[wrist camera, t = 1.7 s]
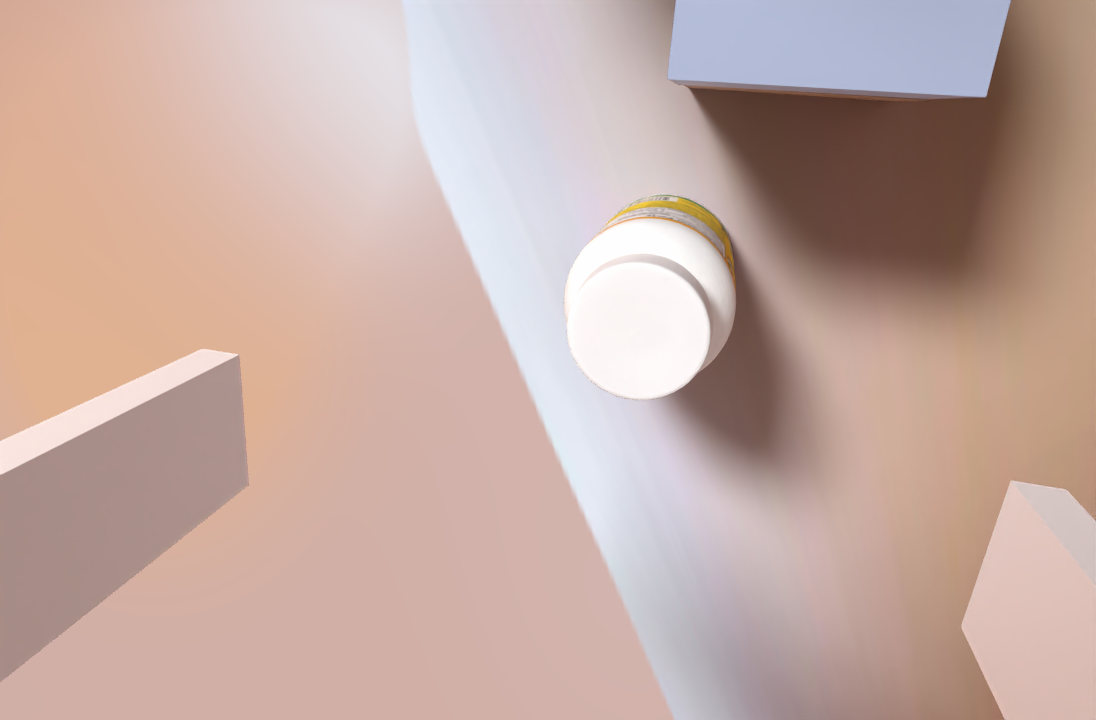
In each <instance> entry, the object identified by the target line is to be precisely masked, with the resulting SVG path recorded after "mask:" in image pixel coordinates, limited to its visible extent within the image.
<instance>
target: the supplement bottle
mask: <svg viewBox="0 0 1096 720" xmlns="http://www.w3.org/2000/svg"><path fill="white" fill-rule="evenodd" d="M735 310H736V285H735V274H734V260H733V253H732V247H731V243H730V239H729V236H728V234H727V231H726V229H725V227H724V226H723V224H722V223H721V221H720V220H719V219H718V217H717V216H716V215H715V214H714V213H713V212H712V211H710V210H709V209H708V208H707V207H705V206H704V205H702V204H701V203H699V202H697V201H695V200H692V199H690V198H687V197H684V196H680V195H674V194H657V195H651V196H647V197H644V198H641V199H638V200H636V201H634V202H632V203H630V204H628V205H627V206H625V207H624V208H623V209H621V210H620V211H619V212H618V213H616V214H615V215H614V216H613V217H612V218H611V219H610V220H609V221H608V223H607V224H606V225H605V226H604V227H603V228H602V229H601V231H600V232H599V233H598V234H597V235H596V236H595V237H594V238H593V239H592V240H591V241H590V242H589V243H588V244H587V245H586V246H585V248H584V249H583V250H582V251H581V253H580V254H579V255H578V257H577V259H576V260H575V262H574V264H573V266H572V268H571V270H570V273H569V275H568V279H567V282H566V287H565V293H564V311H565V318H566V323H567V338H568V343H569V348H570V350H571V353H572V356H573V358H574V360H575V362H576V364H577V365H578V367H579V368H580V370H581V371H582V372H583V374H584V375H585V376H586V377H587V378H588V379H589V380H590V381H591V382H593V383H594V384H595V385H596V386H598V387H599V388H601V389H603V390H604V391H606V392H608V393H610V394H613V395H615V396H618V397H622V398H626V399H632V400H651V399H657V398H661V397H664V396H667V395H670V394H672V393H674V392H676V391H677V390H679V389H681V388H682V387H684V386H685V385H686V384H688V383H689V382H690V381H691V380H692V379H693V378H694V377H695V375H696V374H697V373H698V372H700V371H701V370H703V369H704V368H705V367H706V366H708V365H709V364H710V363H711V362H712V361H713V360H714V359H715V358H716V357H717V355H718V354H719V352H720V351H721V350H722V348H723V347H724V345H725V343H726V342H727V340H728V337H729V335H730V333H731V330H732V327H733V322H734V318H735Z"/></svg>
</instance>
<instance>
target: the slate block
mask: <svg viewBox="0 0 1096 720" xmlns="http://www.w3.org/2000/svg"><path fill="white" fill-rule="evenodd" d="M1010 1H1011V0H676V3H675V13H674V22H673V31H672V40H671V49H670V59H669V68H668V77H667V79H668V80H670V81H672V82H674V83H676V84H678V85H693V86H711V87H728V88H745V89H762V90H780V91H797V92H814V93H831V94H849V95H866V96H883V97H900V98H918V99H944V98H978V97H986V95H987V92H988V88H989V84H990V80H991V76H992V72H993V68H994V64H995V60H996V56H997V52H998V48H999V45H1000V41H1001V37H1002V33H1003V29H1004V25H1005V21H1006V17H1007V13H1008V9H1009V5H1010Z"/></svg>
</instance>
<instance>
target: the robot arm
mask: <svg viewBox="0 0 1096 720" xmlns="http://www.w3.org/2000/svg"><path fill="white" fill-rule="evenodd" d="M248 485H249V481H248V467H247V454H246V439H245V426H244V412H243V399H242V385H241V372H240V359H239V355H238V354H232V353H226V352H220V351H214V350H208V349H201V350H199V351H196V352H194V353H192V354H190V355H188V356H186V357H183V358H181V359H179V360H177V361H175V362H172V363H170V364H168V365H166V366H164V367H161V368H159V369H157V370H155V371H153V372H150V373H148V374H146V375H144V376H142V377H139V378H137V379H135V380H133V381H131V382H129V383H126V384H124V385H122V386H120V387H118V388H115V389H113V390H111V391H109V392H107V393H105V394H102V395H100V396H98V397H96V398H94V399H91V400H89V401H87V402H85V403H83V404H81V405H78V406H76V407H74V408H72V409H69V410H68V411H65V412H63V413H61V414H59V415H56V416H54V417H52V418H50V419H48V420H45V421H43V422H41V423H39V424H37V425H34V426H32V427H30V428H28V429H26V430H24V431H21V432H19V433H17V434H15V435H13V436H10V437H8V438H6V439H4V440H2V441H0V682H1V681H2V680H4V679H5V678H6V677H7V676H9V675H10V674H11V673H12V672H14V671H15V670H16V669H17V668H19V667H20V666H21V665H23V664H24V663H25V662H26V661H28V660H29V659H30V658H31V657H32V656H34V655H35V654H36V653H38V652H39V651H40V650H41V649H43V648H44V647H45V646H46V645H48V644H49V643H50V642H52V641H53V640H54V639H55V638H57V637H58V636H59V635H60V634H62V633H63V632H64V631H65V630H67V629H68V628H69V627H70V626H72V625H73V624H74V623H75V622H77V621H78V620H79V619H81V618H82V617H83V616H84V615H86V614H87V613H88V612H89V611H91V610H92V609H93V608H94V607H96V606H97V605H98V604H99V603H100V602H102V601H103V600H104V599H106V598H107V597H108V596H110V595H111V594H112V593H113V592H114V591H115V590H117V589H118V588H119V587H121V586H122V585H123V584H125V583H126V582H127V581H128V580H130V579H131V578H132V577H134V576H135V575H136V574H137V573H139V572H140V571H141V570H142V569H144V568H145V567H146V566H147V565H148V564H150V563H151V562H152V561H154V560H155V559H156V558H158V557H159V556H160V555H161V554H162V553H164V552H165V551H166V550H168V549H169V548H170V547H171V546H173V545H174V544H175V543H176V542H178V541H179V540H180V539H181V538H183V537H184V536H185V535H187V534H188V533H189V532H190V531H192V530H193V529H194V528H195V527H197V525H199V524H200V523H202V522H203V521H204V520H205V519H207V518H208V517H209V516H210V515H212V514H213V513H214V512H216V511H217V510H218V509H219V508H220V507H222V506H223V505H224V504H226V503H227V502H228V501H229V500H230V499H232V498H233V497H234V496H236V495H237V494H238V493H239V492H241V491H242V490H243V489H245V487H247V486H248ZM961 628H962V630H963V633H964V635H965V637H966V639H967V641H968V643H969V645H970V647H971V649H972V652H973V654H974V656H975V658H976V660H977V662H978V664H979V666H980V668H981V671H982V673H983V675H984V677H985V679H986V681H987V683H988V685H989V687H990V690H991V692H992V694H993V696H994V698H995V700H996V702H997V704H998V706H999V709H1000V711H1001V713H1002V715H1003V717H1004V719H1005V720H1096V521H1095V520H1094V519H1093V518H1092V517H1091V516H1090V514H1089V513H1088V512H1087V511H1086V510H1085V509H1084V508H1083V507H1082V506H1081V505H1080V504H1079V503H1078V502H1077V500H1076V499H1075V498H1074V497H1073V496H1072V495H1071V494H1070V493H1069V492H1068V491H1067V490H1066V489H1061V488H1054V487H1048V486H1042V485H1036V484H1030V483H1024V482H1018V481H1010V484H1009V487H1008V490H1007V493H1006V496H1005V499H1004V502H1003V505H1002V508H1001V511H1000V514H999V516H998V519H997V522H996V525H995V528H994V531H993V534H992V537H991V540H990V543H989V546H988V549H987V552H986V555H985V558H984V560H983V563H982V566H981V569H980V572H979V575H978V578H977V581H976V584H975V587H974V590H973V593H972V596H971V599H970V602H969V604H968V607H967V610H966V613H965V616H964V619H963V622H962V625H961Z"/></svg>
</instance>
